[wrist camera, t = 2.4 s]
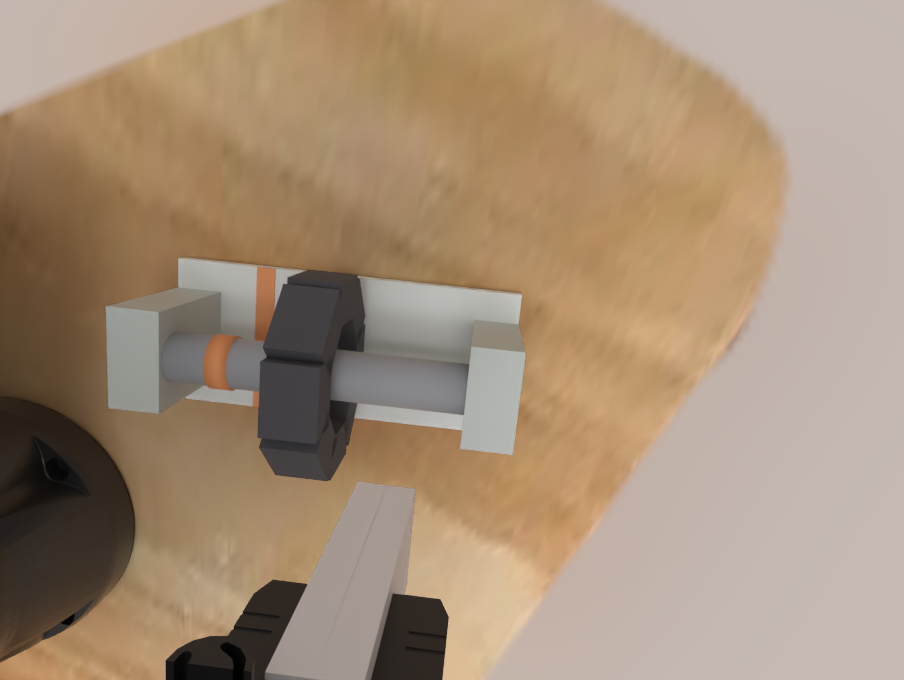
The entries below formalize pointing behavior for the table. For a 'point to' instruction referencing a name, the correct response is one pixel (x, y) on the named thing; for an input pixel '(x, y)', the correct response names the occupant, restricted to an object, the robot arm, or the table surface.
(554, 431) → the table surface
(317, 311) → the o-ring
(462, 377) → the pipe rig
